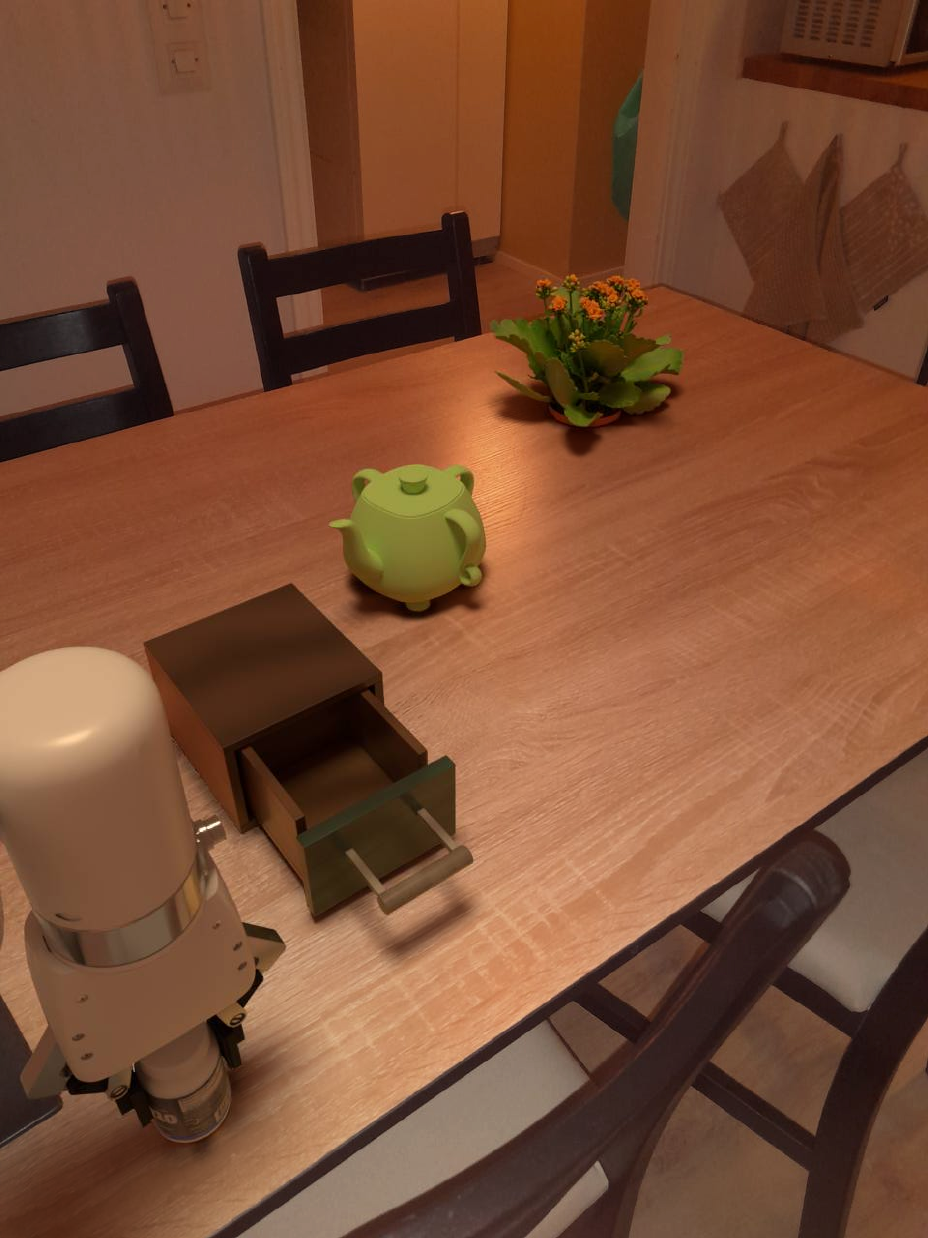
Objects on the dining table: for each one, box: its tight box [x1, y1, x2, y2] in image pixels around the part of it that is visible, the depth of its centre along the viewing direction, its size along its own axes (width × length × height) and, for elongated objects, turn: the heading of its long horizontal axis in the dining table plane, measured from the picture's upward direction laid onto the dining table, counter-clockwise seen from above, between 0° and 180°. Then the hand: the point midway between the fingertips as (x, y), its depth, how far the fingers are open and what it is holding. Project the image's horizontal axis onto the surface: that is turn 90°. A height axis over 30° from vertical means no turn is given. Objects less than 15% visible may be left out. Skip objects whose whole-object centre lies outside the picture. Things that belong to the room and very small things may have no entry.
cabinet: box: [142, 582, 385, 834], centre depth 80 cm, size 15×14×10 cm
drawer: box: [234, 688, 474, 917], centre depth 71 cm, size 19×12×8 cm, turn 37°
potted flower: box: [489, 273, 684, 428], centre depth 125 cm, size 25×24×18 cm
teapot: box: [328, 463, 487, 612], centre depth 97 cm, size 16×14×13 cm
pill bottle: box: [133, 1020, 232, 1144], centre depth 56 cm, size 5×5×8 cm
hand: (182, 1074), depth 56 cm, fingers closed on pill bottle, 4 cm apart
